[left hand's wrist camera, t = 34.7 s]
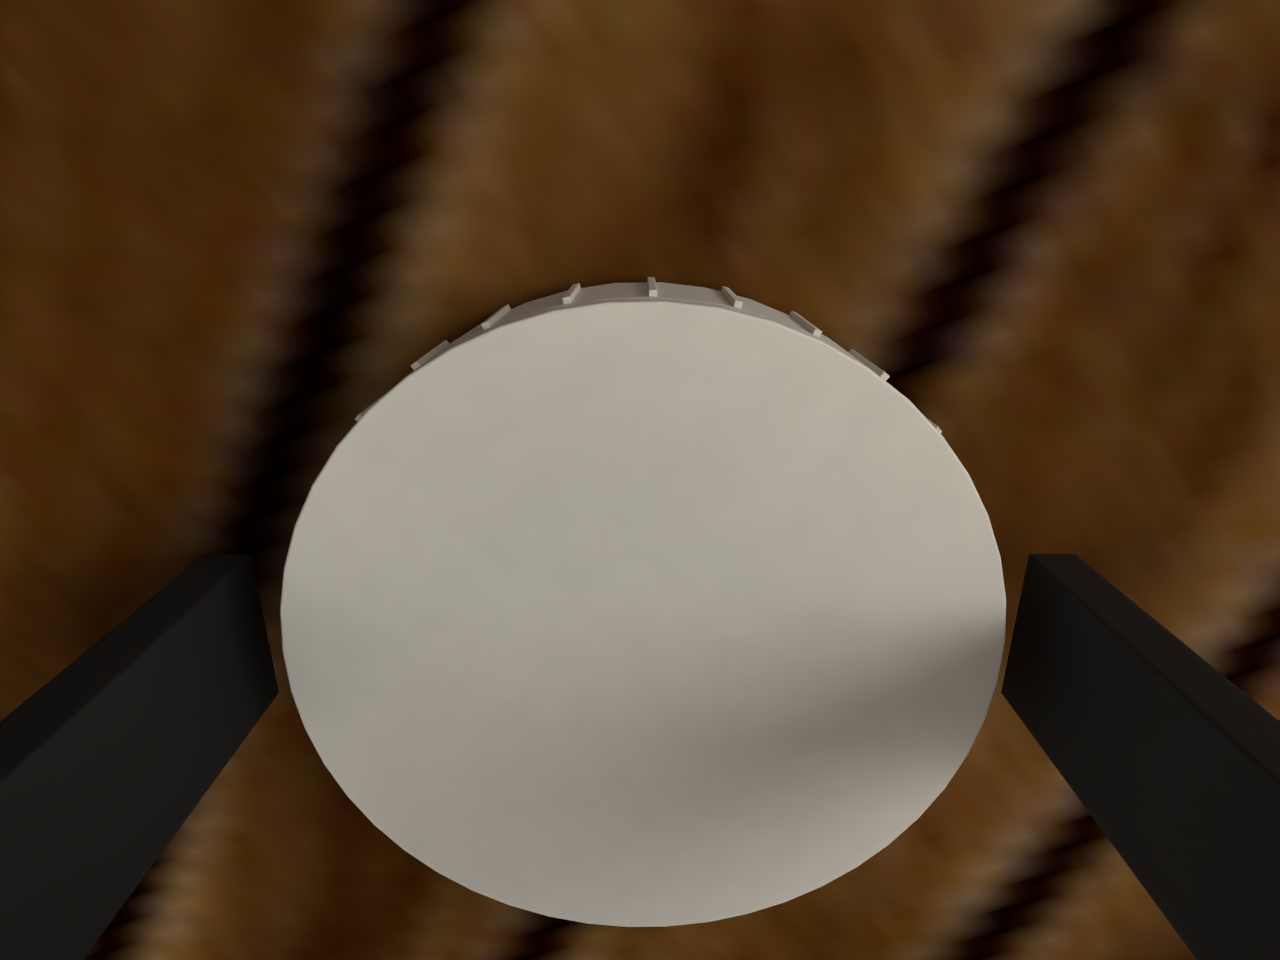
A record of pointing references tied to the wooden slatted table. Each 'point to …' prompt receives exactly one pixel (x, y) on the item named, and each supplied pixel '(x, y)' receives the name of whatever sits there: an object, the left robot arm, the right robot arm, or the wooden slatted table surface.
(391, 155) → the wooden slatted table surface
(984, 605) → the lid
